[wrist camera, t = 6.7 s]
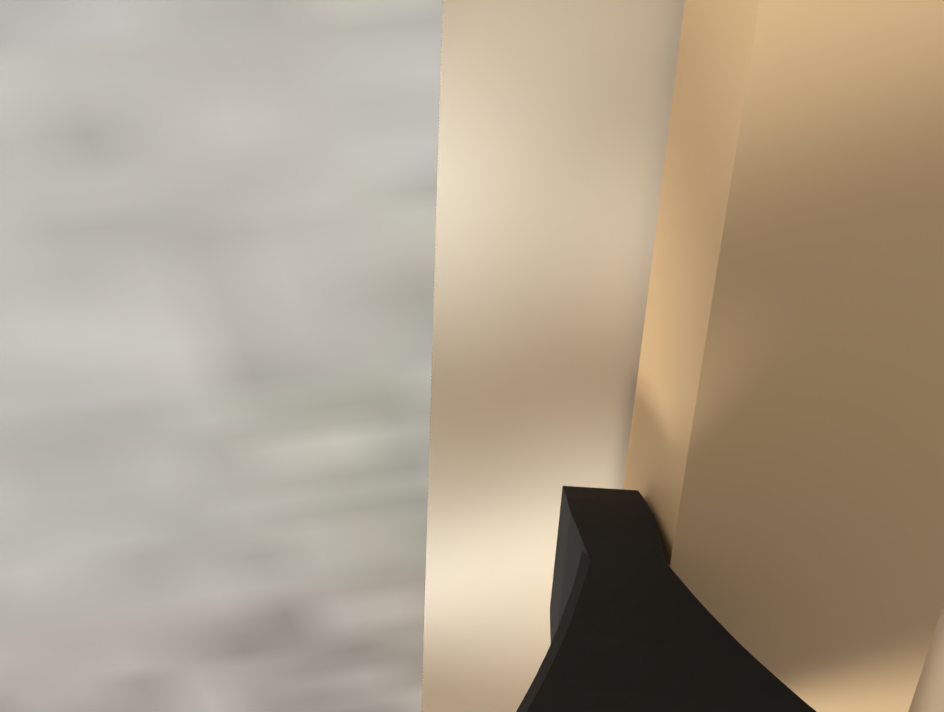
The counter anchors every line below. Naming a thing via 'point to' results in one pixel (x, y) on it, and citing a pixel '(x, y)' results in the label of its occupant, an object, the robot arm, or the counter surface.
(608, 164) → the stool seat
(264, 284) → the counter surface
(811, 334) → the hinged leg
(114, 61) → the counter surface
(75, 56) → the counter surface
